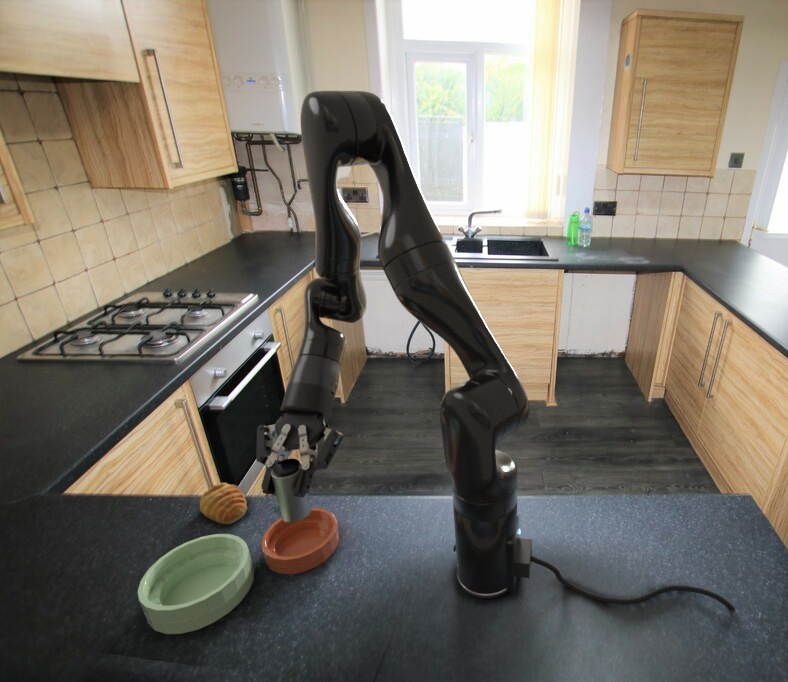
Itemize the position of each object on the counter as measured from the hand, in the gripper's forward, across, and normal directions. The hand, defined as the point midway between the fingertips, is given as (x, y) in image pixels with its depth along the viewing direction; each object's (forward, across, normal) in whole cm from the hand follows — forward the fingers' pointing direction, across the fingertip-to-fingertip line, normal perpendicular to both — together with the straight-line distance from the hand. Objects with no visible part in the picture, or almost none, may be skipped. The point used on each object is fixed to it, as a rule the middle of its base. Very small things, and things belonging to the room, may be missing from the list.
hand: (283, 494), depth 71 cm
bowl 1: (+15, -10, +3) cm, 18 cm away
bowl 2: (+7, 0, +10) cm, 13 cm away
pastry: (+3, -19, +15) cm, 25 cm away
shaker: (+2, 0, +5) cm, 6 cm away
